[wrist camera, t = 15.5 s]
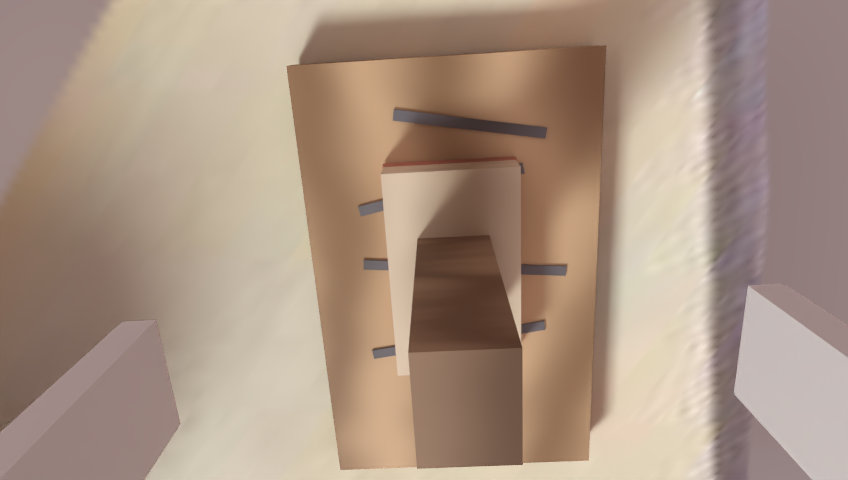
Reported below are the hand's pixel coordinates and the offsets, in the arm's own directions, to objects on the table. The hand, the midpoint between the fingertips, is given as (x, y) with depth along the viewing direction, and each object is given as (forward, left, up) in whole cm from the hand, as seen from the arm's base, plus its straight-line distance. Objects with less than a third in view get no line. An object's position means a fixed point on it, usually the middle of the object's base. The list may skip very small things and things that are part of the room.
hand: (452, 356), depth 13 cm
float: (0, -3, -15) cm, 15 cm away
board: (0, -5, -16) cm, 17 cm away
